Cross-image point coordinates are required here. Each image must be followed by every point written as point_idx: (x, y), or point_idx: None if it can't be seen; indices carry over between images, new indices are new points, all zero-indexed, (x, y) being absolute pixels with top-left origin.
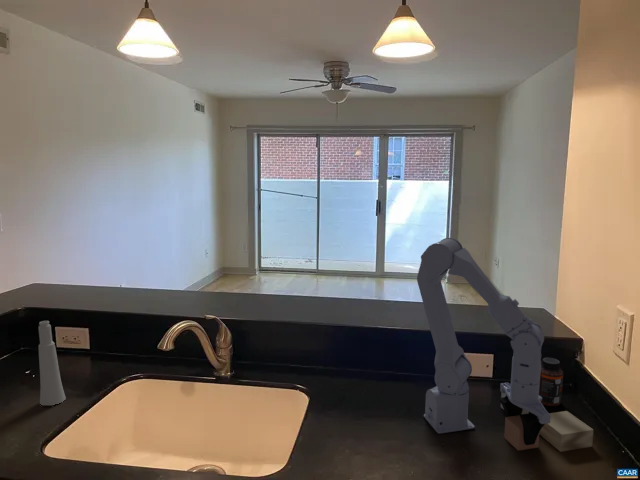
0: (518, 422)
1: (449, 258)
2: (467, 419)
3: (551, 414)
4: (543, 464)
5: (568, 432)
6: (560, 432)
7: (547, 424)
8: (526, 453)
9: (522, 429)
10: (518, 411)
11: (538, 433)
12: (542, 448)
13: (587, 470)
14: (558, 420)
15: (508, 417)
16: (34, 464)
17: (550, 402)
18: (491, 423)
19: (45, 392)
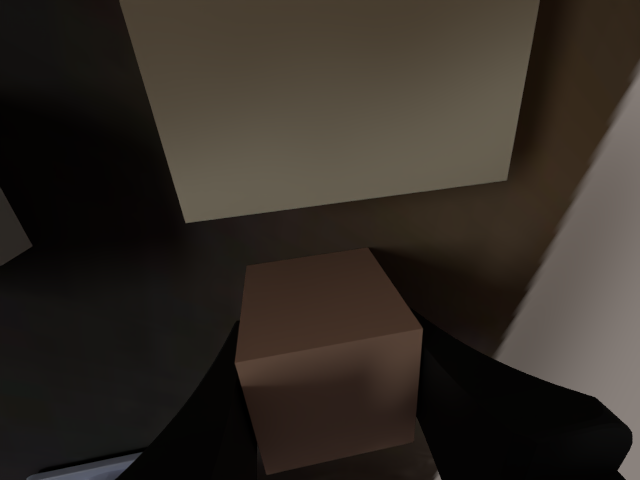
0: (341, 428)
1: None
2: (123, 466)
3: (161, 42)
4: (476, 283)
5: (507, 96)
6: (481, 172)
7: (336, 200)
8: None
9: (413, 424)
10: (237, 436)
11: (439, 329)
12: (380, 231)
13: (592, 109)
14: (301, 46)
15: (272, 462)
16: None
17: None
18: (132, 372)
19: None
